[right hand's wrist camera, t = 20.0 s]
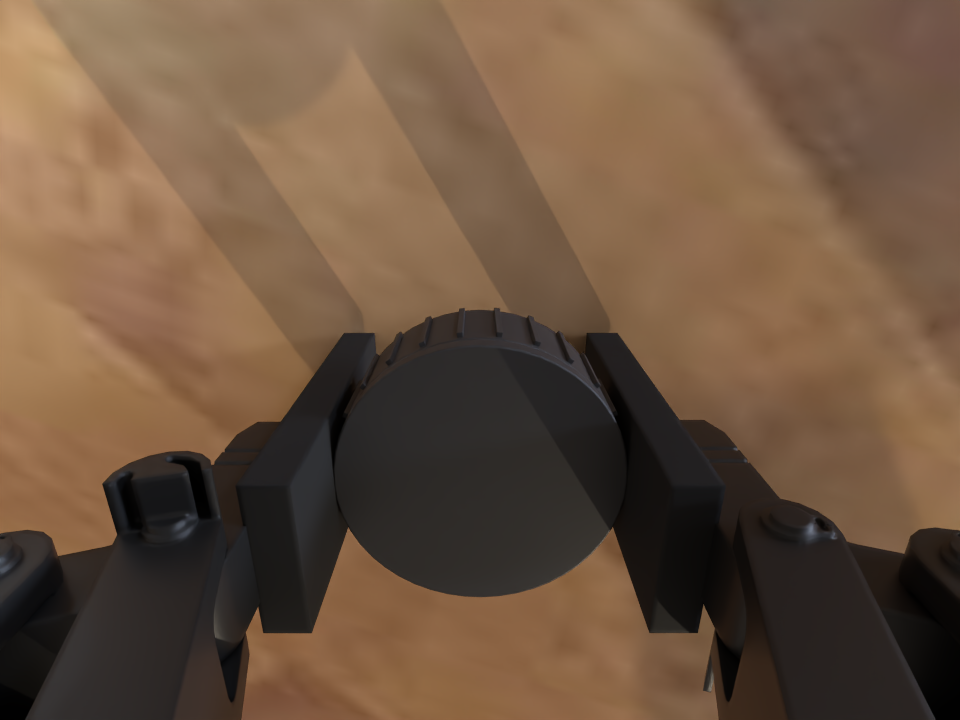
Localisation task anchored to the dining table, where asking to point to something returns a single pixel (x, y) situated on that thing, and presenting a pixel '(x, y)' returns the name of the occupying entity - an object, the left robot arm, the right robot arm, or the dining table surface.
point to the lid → (480, 456)
